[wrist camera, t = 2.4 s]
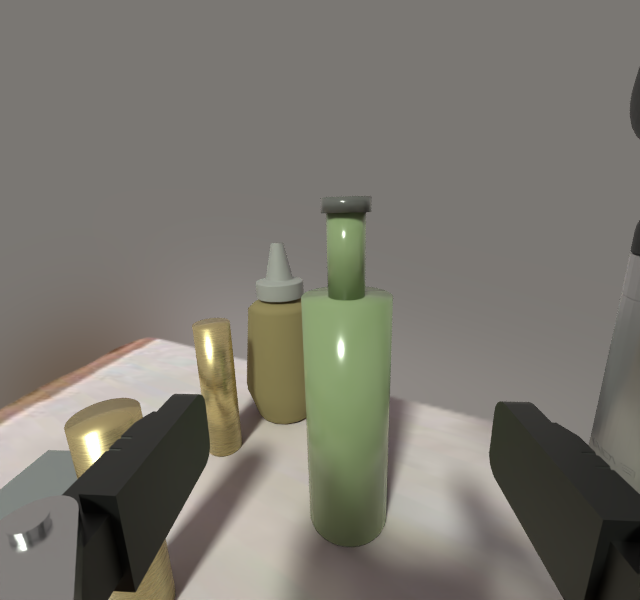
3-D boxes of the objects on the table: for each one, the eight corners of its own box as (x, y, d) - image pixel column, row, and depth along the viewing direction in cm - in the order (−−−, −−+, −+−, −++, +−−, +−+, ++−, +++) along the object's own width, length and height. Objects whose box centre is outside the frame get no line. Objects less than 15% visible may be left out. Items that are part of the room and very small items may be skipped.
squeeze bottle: (254, 392, 40) (240, 241, 36) (320, 387, 41) (316, 238, 36) (244, 435, 32) (225, 249, 28) (327, 429, 33) (322, 246, 28)
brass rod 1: (184, 576, 20) (152, 398, 17) (157, 638, 17) (113, 437, 14) (136, 573, 20) (96, 397, 17) (102, 634, 17) (46, 435, 14)
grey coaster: (144, 458, 30) (143, 452, 30) (62, 561, 21) (60, 553, 21) (49, 455, 30) (48, 450, 30) (-67, 553, 22) (-70, 546, 22)
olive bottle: (381, 482, 27) (389, 197, 21) (390, 548, 21) (403, 193, 16) (313, 479, 27) (303, 200, 21) (306, 544, 22) (289, 197, 16)
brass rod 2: (245, 434, 33) (234, 317, 29) (236, 457, 30) (222, 329, 27) (215, 434, 33) (201, 317, 30) (203, 456, 30) (185, 329, 27)
